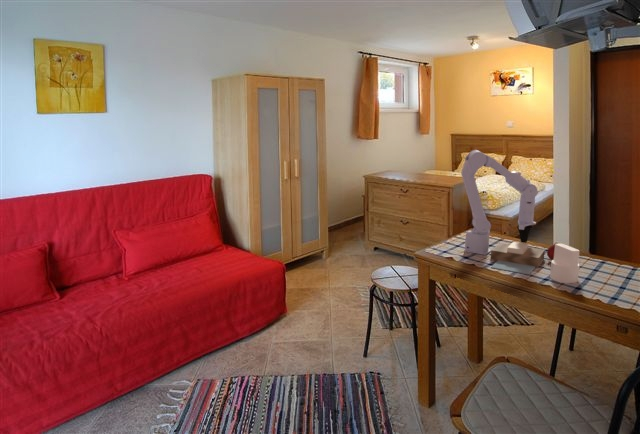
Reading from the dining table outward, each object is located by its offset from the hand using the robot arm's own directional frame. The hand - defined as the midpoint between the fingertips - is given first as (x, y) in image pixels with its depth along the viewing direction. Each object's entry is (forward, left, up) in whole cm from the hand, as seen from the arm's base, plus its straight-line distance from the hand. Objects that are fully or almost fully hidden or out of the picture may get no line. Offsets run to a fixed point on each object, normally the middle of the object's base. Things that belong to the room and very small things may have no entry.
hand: (523, 242), depth 190 cm
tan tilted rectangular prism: (0, -11, -1) cm, 11 cm away
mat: (+1, -21, -5) cm, 22 cm away
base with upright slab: (+19, -23, -5) cm, 30 cm away
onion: (+13, -5, -5) cm, 15 cm away
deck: (0, -10, -5) cm, 11 cm away
